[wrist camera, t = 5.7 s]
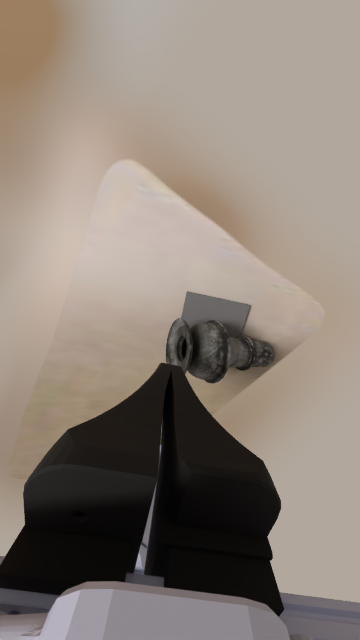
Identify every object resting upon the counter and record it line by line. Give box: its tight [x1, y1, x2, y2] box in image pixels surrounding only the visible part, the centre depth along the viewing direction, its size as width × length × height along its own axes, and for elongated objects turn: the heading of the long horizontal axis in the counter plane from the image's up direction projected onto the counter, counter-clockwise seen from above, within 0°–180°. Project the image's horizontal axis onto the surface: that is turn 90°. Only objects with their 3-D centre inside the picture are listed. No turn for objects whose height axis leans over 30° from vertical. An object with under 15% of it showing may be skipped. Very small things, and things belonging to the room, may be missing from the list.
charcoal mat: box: [181, 292, 250, 338], centre depth 20 cm, size 7×7×1 cm
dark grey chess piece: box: [166, 318, 274, 383], centre depth 17 cm, size 6×6×12 cm
